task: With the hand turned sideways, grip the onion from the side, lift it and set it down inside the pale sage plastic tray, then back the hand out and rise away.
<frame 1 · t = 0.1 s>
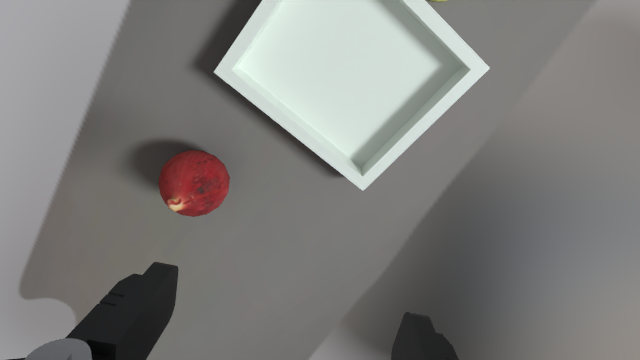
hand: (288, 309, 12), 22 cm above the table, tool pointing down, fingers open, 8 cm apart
onion: (209, 165, 35), on the table
tray: (348, 64, 30), on the table
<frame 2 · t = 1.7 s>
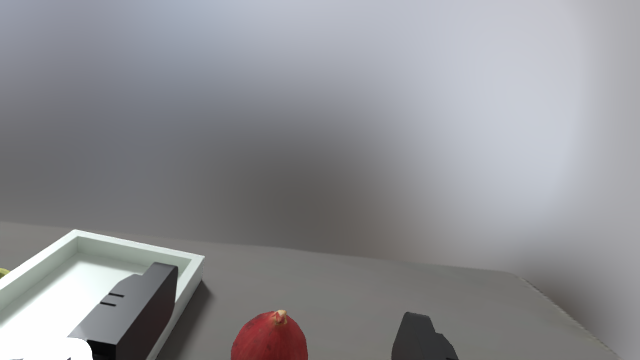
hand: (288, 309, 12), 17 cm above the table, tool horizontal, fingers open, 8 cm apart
tray: (92, 316, 31), on the table
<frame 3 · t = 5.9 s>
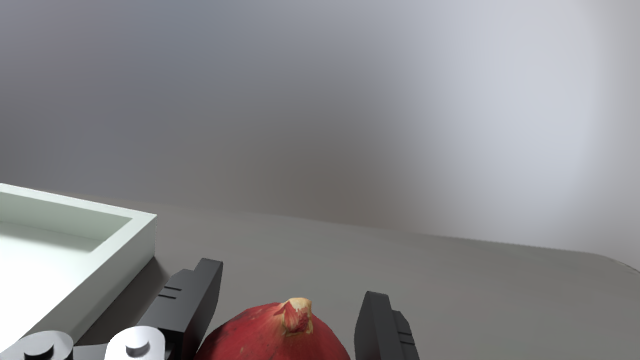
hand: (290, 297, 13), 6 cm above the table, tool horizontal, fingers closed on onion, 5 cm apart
when the fingers open (8 cm above the table, at t = 11.2 s): onion stays where it is, resting on tray.
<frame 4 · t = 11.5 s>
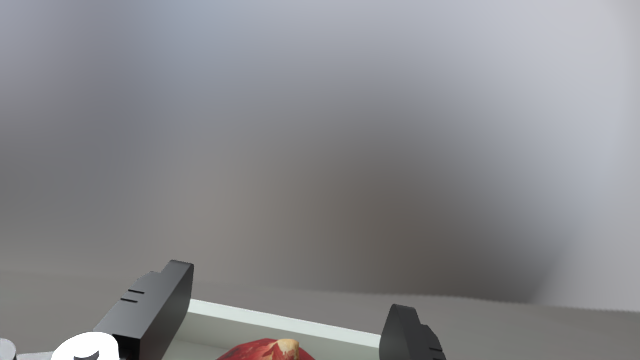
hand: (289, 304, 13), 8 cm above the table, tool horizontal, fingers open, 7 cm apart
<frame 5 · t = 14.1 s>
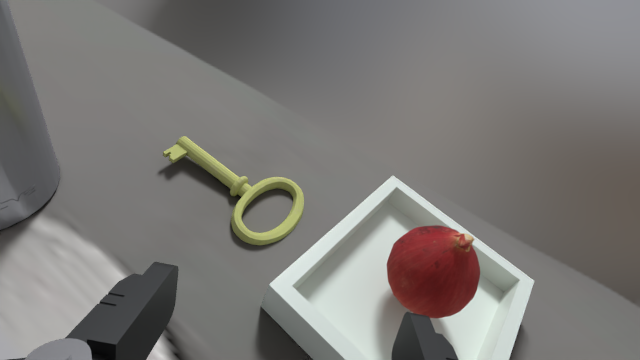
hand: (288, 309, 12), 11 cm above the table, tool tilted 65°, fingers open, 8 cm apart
onion: (404, 297, 26), point 1 cm above the table, touching tray
tray: (400, 301, 27), on the table
key: (237, 196, 30), on the table
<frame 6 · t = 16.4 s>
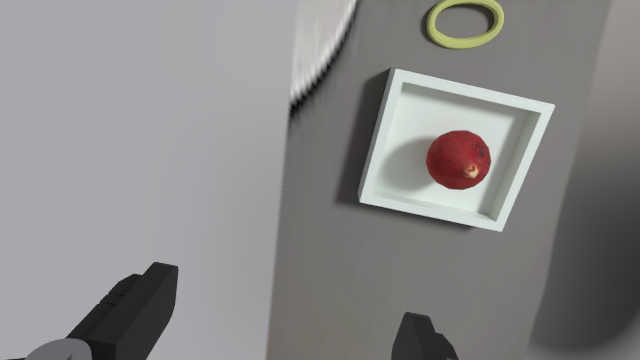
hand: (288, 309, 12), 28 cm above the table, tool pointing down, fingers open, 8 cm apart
onion: (445, 150, 38), point 1 cm above the table, touching tray
tray: (443, 149, 39), on the table
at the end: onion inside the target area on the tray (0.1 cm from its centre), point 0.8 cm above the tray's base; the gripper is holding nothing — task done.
